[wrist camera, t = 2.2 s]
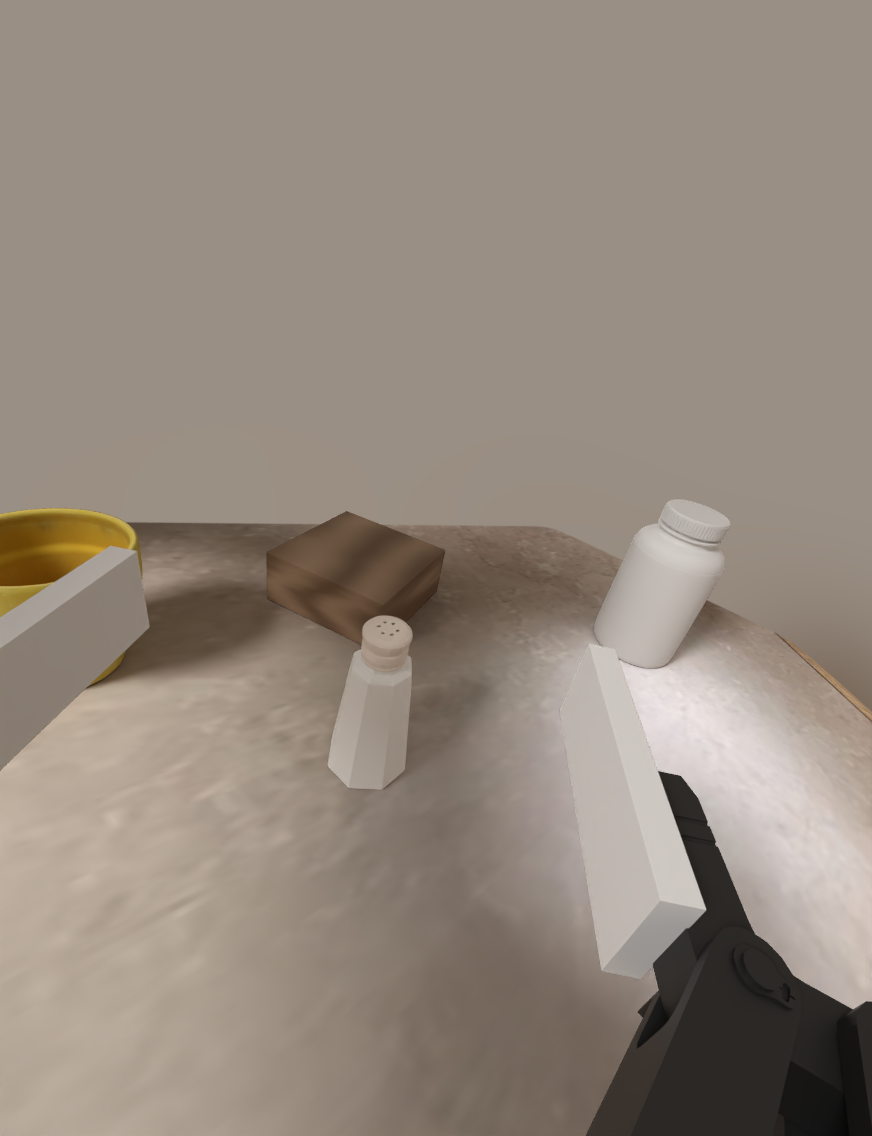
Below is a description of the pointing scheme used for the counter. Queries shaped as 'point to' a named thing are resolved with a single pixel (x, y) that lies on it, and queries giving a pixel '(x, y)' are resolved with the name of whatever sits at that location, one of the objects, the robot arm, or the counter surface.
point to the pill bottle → (663, 584)
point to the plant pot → (54, 551)
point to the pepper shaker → (374, 708)
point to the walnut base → (353, 574)
